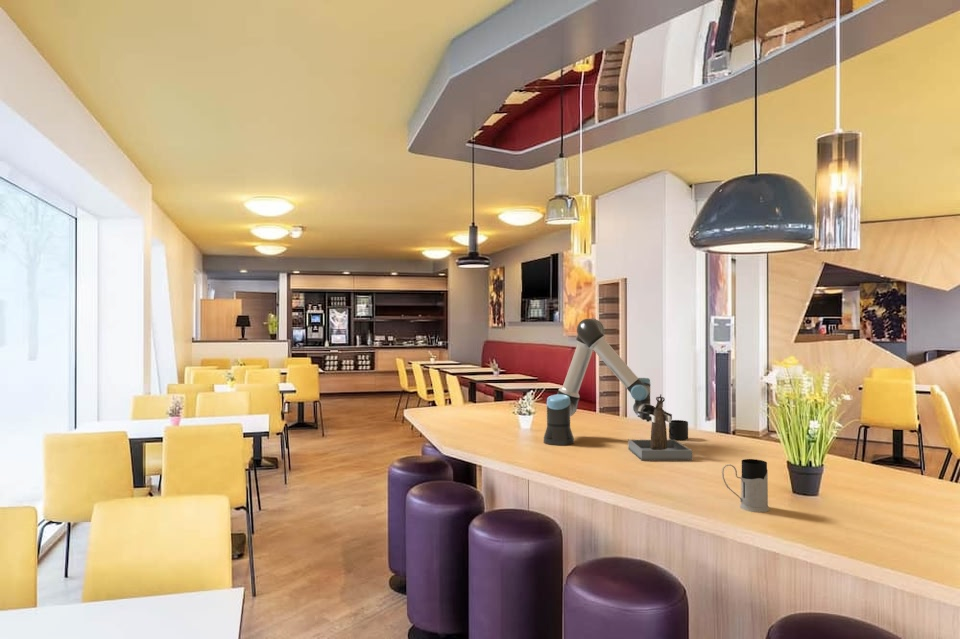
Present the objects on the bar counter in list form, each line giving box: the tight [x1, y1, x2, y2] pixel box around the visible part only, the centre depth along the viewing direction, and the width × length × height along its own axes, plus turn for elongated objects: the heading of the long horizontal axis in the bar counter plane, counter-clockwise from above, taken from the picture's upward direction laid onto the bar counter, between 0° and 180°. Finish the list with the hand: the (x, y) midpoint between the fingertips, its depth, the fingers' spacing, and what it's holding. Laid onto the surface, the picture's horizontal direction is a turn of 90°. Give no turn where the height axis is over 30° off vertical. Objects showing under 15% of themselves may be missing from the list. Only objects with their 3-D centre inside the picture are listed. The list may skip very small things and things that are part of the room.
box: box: [627, 439, 693, 462], centre depth 275 cm, size 22×24×4 cm
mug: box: [668, 419, 689, 442], centre depth 312 cm, size 9×12×9 cm
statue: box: [650, 394, 668, 450], centre depth 275 cm, size 9×8×25 cm
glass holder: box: [721, 458, 770, 513], centre depth 196 cm, size 9×14×15 cm, turn 80°
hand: (662, 419), depth 270 cm, fingers closed on statue, 6 cm apart
